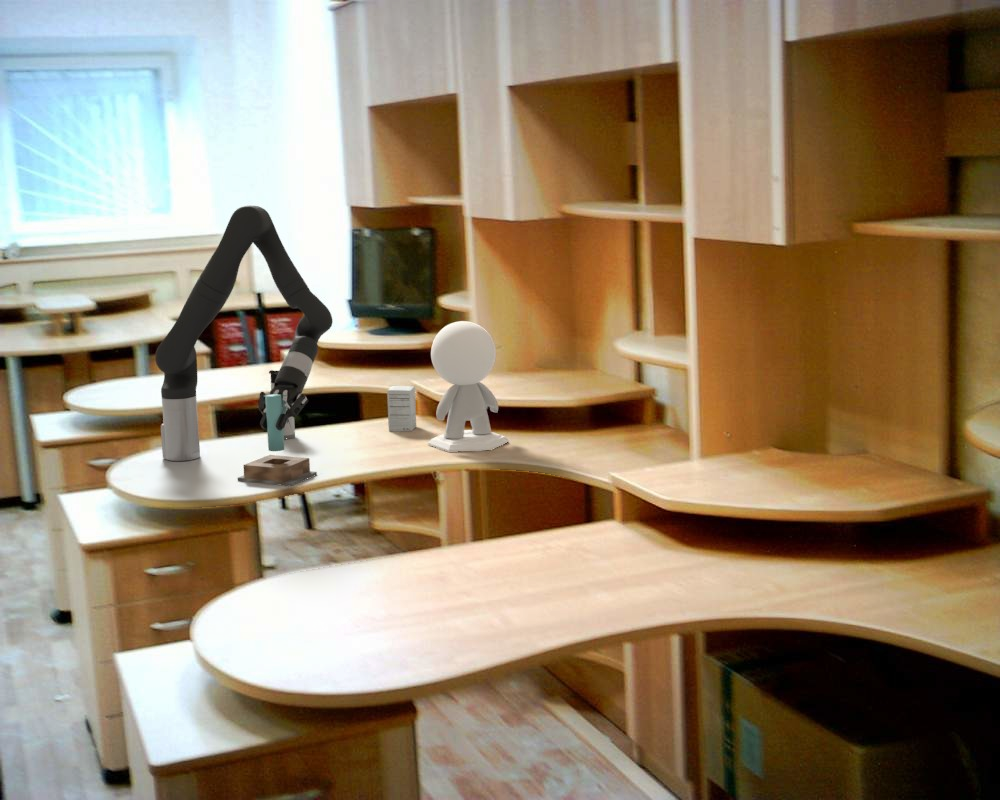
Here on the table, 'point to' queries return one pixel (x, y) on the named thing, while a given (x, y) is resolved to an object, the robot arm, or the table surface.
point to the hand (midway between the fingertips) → (270, 427)
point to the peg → (274, 422)
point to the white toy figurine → (465, 387)
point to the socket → (277, 470)
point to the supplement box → (401, 408)
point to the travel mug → (289, 426)
